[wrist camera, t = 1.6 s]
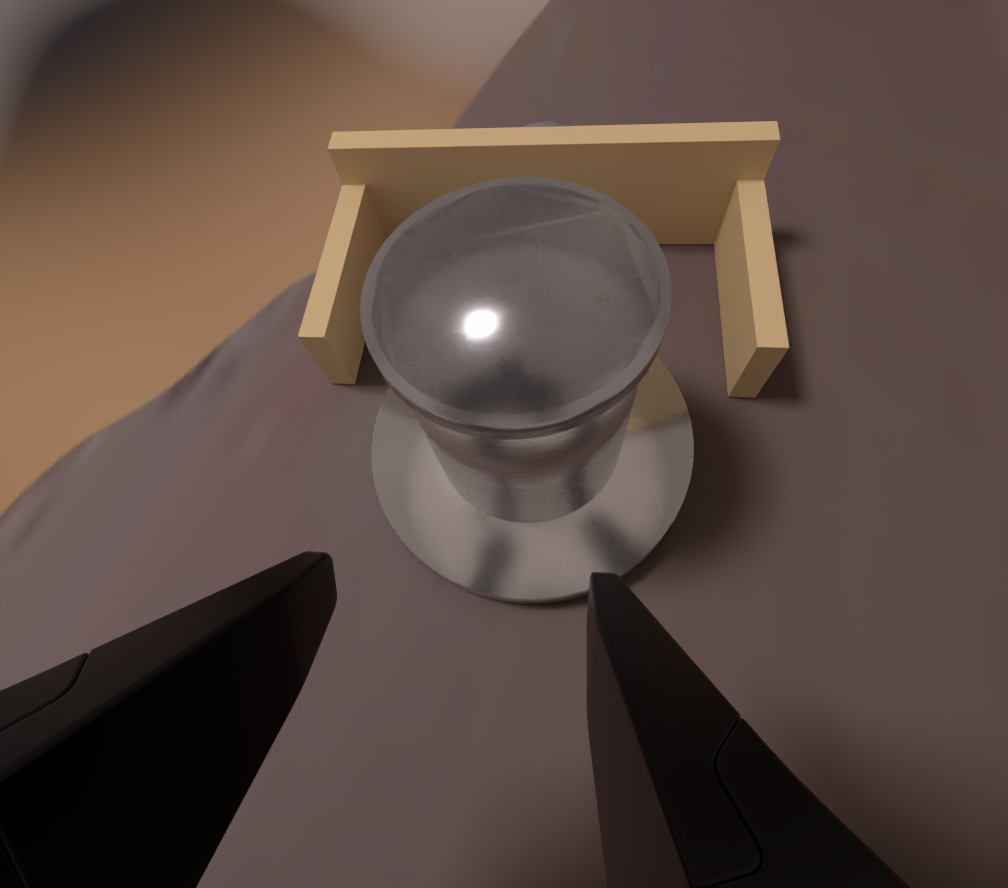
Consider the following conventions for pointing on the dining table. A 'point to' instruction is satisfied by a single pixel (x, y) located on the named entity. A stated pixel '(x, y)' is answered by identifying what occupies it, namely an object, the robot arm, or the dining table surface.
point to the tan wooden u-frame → (581, 160)
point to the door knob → (525, 388)
